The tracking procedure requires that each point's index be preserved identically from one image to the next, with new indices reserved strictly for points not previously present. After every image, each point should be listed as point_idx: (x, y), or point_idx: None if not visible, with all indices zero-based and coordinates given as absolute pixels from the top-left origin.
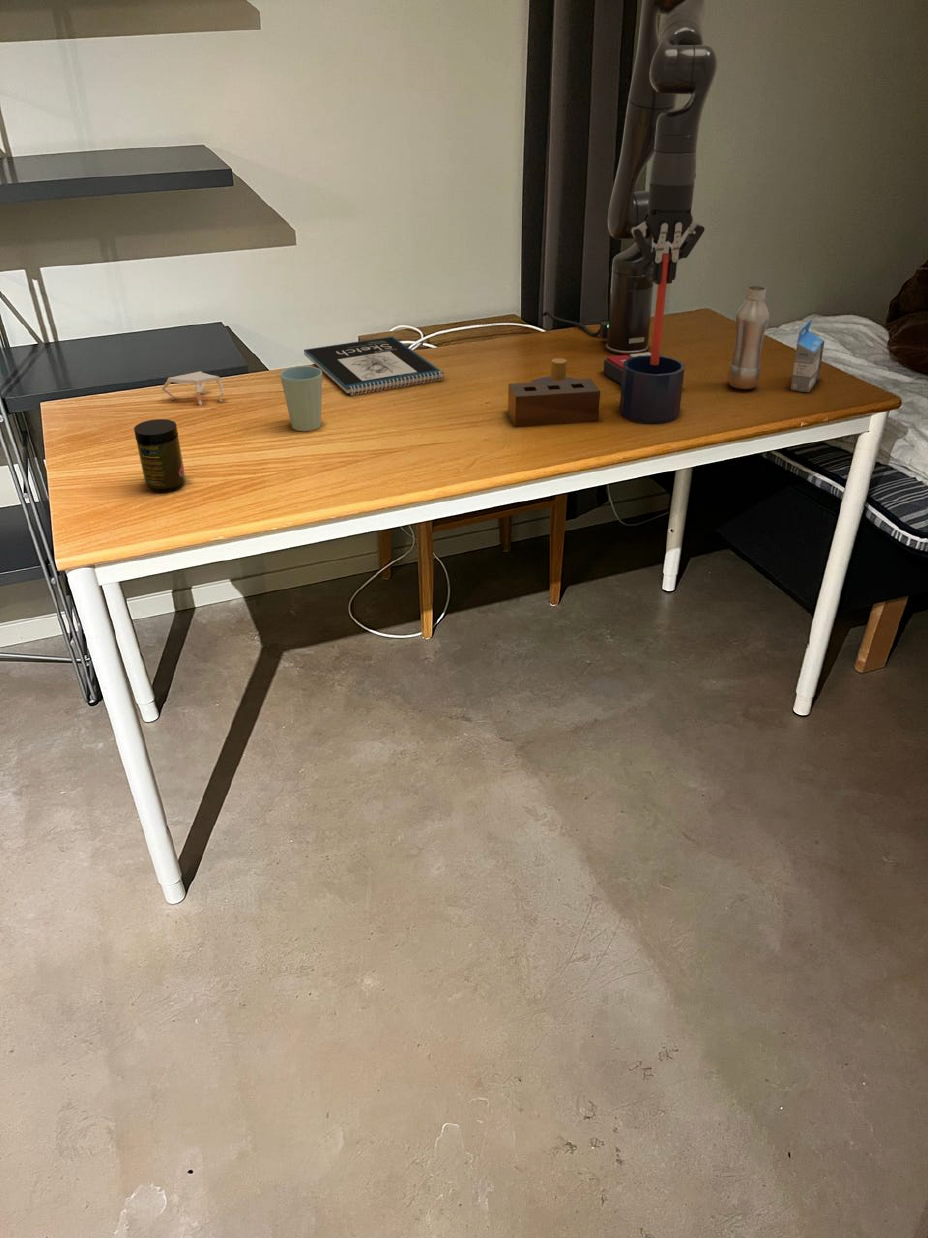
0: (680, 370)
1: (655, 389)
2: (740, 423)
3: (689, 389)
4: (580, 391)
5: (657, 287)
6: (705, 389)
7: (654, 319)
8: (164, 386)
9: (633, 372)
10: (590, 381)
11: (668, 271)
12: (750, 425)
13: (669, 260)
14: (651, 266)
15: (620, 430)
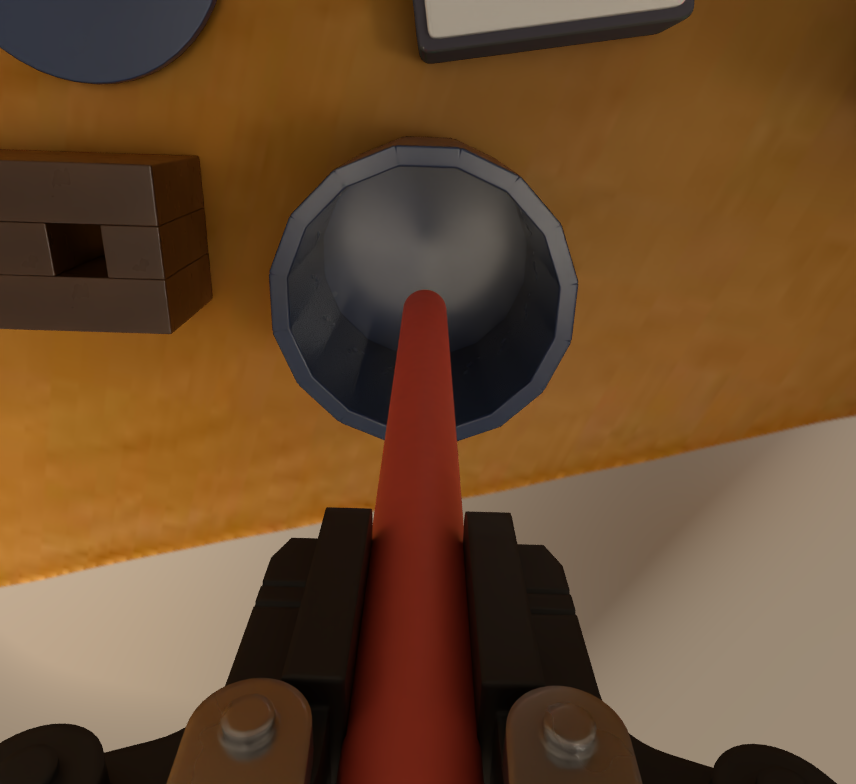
0: (517, 405)
1: None
2: (695, 415)
3: (703, 23)
4: (83, 323)
5: (374, 518)
6: (771, 40)
7: (391, 394)
8: None
9: (295, 376)
10: (144, 208)
11: None
12: (717, 436)
13: (493, 771)
14: (240, 651)
15: (274, 390)
